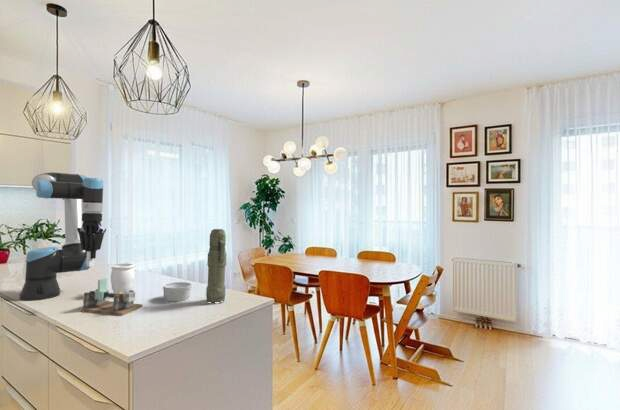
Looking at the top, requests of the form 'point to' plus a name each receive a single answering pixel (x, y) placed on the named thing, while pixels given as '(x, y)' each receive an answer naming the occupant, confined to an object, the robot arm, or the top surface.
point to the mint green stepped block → (101, 289)
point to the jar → (122, 277)
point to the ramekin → (177, 291)
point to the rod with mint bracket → (110, 303)
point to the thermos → (216, 266)
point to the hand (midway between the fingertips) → (90, 265)
